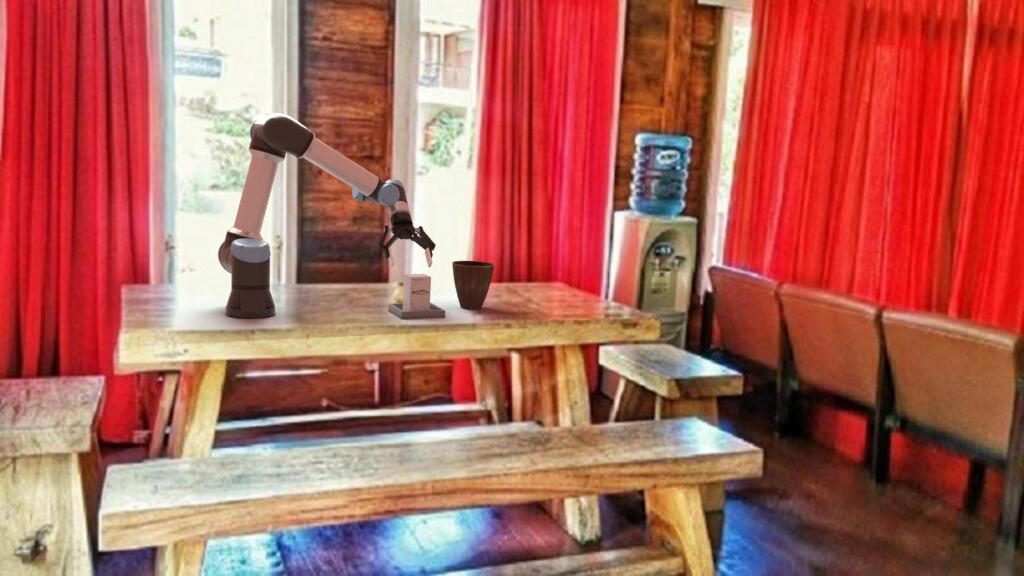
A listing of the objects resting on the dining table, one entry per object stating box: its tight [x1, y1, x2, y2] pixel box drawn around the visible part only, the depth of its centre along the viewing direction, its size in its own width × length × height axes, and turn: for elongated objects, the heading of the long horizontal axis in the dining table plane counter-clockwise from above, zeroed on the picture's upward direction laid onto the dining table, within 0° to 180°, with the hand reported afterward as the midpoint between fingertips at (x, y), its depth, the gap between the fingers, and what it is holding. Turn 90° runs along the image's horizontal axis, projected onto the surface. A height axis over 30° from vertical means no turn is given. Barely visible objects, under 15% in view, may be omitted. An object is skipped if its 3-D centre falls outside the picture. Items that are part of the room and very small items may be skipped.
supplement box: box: [402, 273, 432, 311], centre depth 269 cm, size 7×7×13 cm
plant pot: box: [451, 260, 495, 311], centre depth 285 cm, size 15×15×16 cm
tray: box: [387, 301, 446, 320], centre depth 270 cm, size 15×15×2 cm
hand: (411, 265), depth 275 cm, fingers open, 13 cm apart
